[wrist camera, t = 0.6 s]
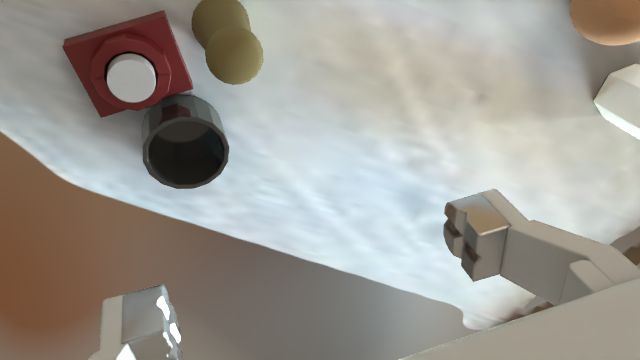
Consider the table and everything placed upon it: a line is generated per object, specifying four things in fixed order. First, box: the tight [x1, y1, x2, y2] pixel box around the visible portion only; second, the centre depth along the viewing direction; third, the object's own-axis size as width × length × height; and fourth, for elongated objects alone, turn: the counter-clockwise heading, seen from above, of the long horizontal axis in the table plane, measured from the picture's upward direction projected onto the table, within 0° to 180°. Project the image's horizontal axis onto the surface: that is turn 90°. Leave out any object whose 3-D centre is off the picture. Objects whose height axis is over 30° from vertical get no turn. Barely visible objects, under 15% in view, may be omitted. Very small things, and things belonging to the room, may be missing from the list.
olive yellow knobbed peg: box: [191, 0, 263, 85], centre depth 48 cm, size 6×6×11 cm
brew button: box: [107, 53, 156, 102], centre depth 49 cm, size 4×4×2 cm
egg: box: [570, 0, 640, 45], centre depth 60 cm, size 8×8×11 cm
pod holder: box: [142, 95, 229, 189], centre depth 56 cm, size 9×9×6 cm
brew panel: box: [63, 10, 193, 118], centre depth 50 cm, size 8×10×4 cm
